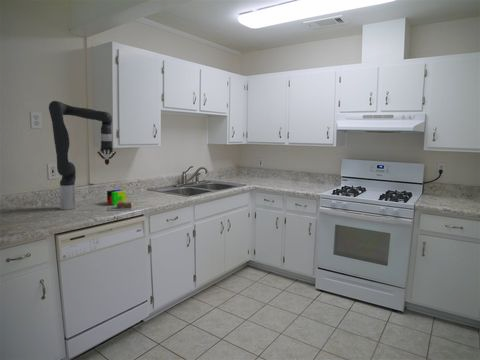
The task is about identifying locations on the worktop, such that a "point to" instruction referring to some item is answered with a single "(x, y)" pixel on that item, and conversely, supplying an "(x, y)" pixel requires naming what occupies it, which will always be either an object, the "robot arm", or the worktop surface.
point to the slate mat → (116, 209)
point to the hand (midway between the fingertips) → (107, 164)
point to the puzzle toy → (116, 196)
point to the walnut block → (124, 205)
